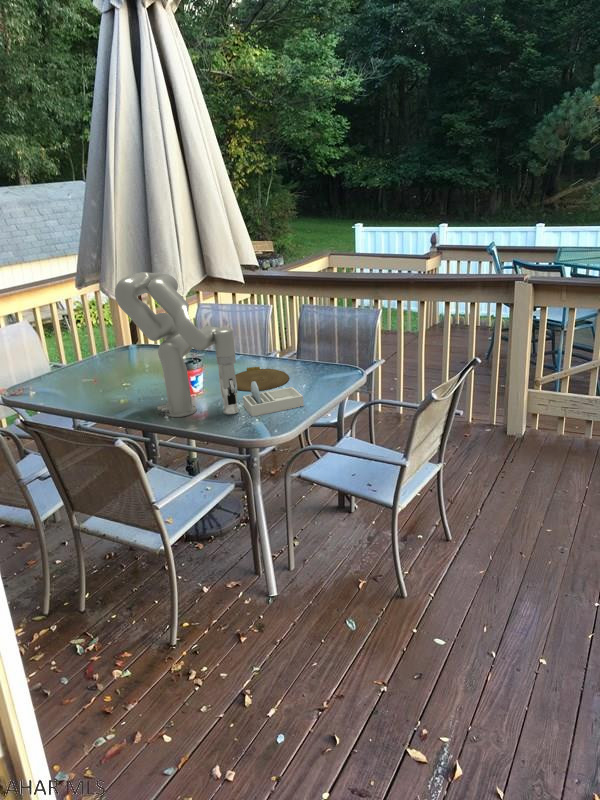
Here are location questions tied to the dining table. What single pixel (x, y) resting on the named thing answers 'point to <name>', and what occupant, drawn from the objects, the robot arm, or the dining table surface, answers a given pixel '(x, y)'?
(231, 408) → the beer glass
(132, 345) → the dining table surface
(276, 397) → the rack
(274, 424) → the dining table surface
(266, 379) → the decorative disc
